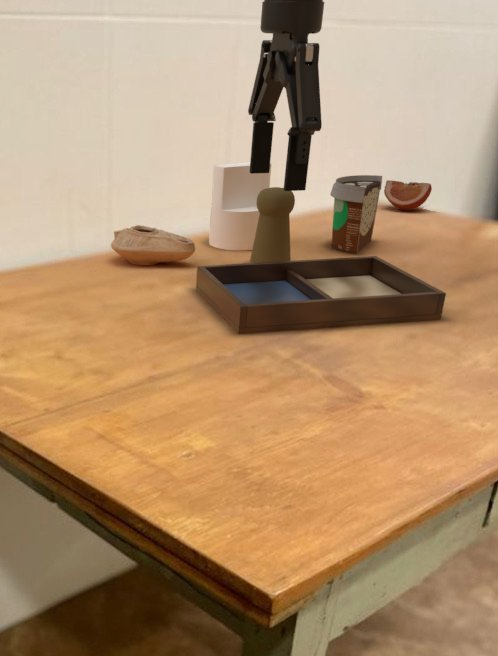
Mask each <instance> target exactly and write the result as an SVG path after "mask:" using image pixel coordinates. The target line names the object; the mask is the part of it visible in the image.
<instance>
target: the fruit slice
mask: <svg viewBox="0 0 498 656" xmlns="http://www.w3.org/2000/svg"><path fill="white" fill-rule="evenodd" d="M432 188H433V187H432V184H431V183H428V182H416V181H414V182H413V181H410V182H408V183H407V182H403V181H399V180H389V179H388V180H386V182H385V185H384V190H383V195H384V197H385V198H386V199H387V201H388V202H389V203H390V204H391V205H392V206H393V207H395V208H396V209H398V210H400V211H411V210H415V209H417V208H419V207H421V206H422V205H423V204H424V203H426V201H427V200H428V198H429V197H430V195H431V193H432V190H433V189H432Z"/></svg>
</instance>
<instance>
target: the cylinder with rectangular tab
mask: <svg viewBox="0 0 498 656" xmlns="http://www.w3.org/2000/svg"><path fill="white" fill-rule="evenodd" d="M212 171H213V172H212V187H211V188H212V192H211V205H210V215H209V231H208V232H209V233H208V234H209V235H208V244H209V246H211V247H213V248H216V249H220V250H221V249H222V250H227V251H252V249H253V244H254V239H255V234H256V229H257V224H258V220H259V215H260V213H259V211H258V209H257V197H258V194H259V193H260V191H262V190H263V189H266V188H271V187H270V186H271V174H272V163H271V162H270V170H269V173H254V174H251V173H250V161H245V162H232V163H222V164H221V163H219V164H213V170H212Z"/></svg>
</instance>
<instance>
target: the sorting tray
mask: <svg viewBox="0 0 498 656" xmlns="http://www.w3.org/2000/svg"><path fill="white" fill-rule="evenodd" d="M195 285H196V286H195V291H196V292H197V293H198V294H199V295H200V296H201V297H202V299H203V300H204V301H205V302H207V304H208V305H209V306H210V307H211V308H213V310H214V311H215V312H216V313H217V314H218V315H219V316H220V317H221V318H222V319H223V320H224V321H225V322H226V323H227V324H228V325H229V326H230V327H231V328H232V329H233V330H234V331H235V332H236V334H238V335H246V334H260V333H261V334H262V333H274V332H275V333H277V332H287V331H288V332H289V331H290V332H291V331H301V330H302V331H303V330H317V329H332V328H344V327H345V328H346V327H358V326H359V327H360V326H361V327H362V326H372V325H373V326H374V325H386V324H387V325H388V324H400V323H415V322H416V323H417V322H428V321H441V320H442V314H443V310H444V305H445V300H446V295H447V293H446V292H445V291H443V290H440V288H437V287H435V286H434V285H432V284H430V283H428V282H426V281H424V280H422V279H421V278H418V277H417V276H414V275H412V274H411V273H409V272H407V271H405V270H403V269H401V268H400V267H398V266H397V265H393V264H392V263H390V262H388V261H386V260H384V259H383V258H381V257H379V256H377V255H369V256H367V255H366V256H351V257H349V256H348V257H334V258H333V257H331V258H318V259H316V258H314V259H299V260H298V259H297V260H291V261H278V262H261V263H250V262H245V263H232V264H231V263H230V264H229V263H228V264H213V265H212V264H211V265H209V264H208V265H197V266H196V283H195Z"/></svg>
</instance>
